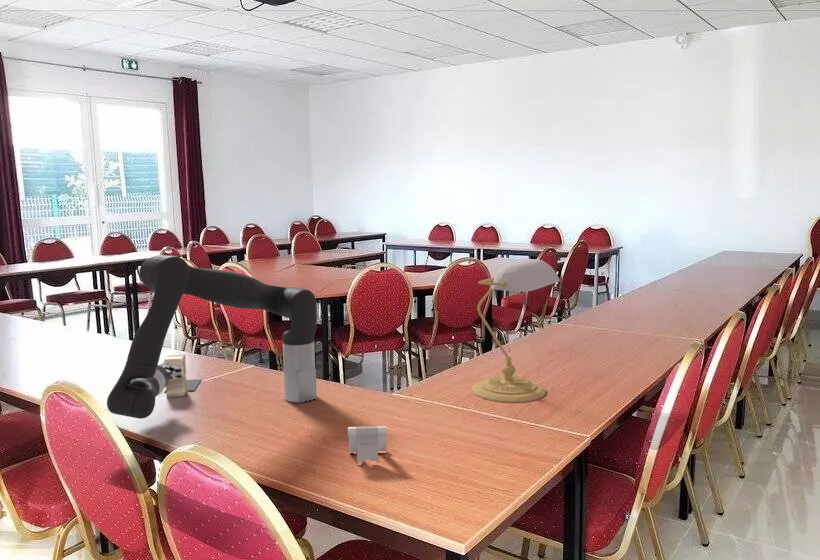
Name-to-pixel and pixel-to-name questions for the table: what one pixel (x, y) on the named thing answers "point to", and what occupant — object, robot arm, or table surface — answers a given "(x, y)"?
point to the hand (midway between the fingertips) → (166, 365)
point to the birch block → (176, 385)
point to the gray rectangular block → (191, 385)
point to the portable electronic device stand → (367, 442)
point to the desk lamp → (516, 280)
